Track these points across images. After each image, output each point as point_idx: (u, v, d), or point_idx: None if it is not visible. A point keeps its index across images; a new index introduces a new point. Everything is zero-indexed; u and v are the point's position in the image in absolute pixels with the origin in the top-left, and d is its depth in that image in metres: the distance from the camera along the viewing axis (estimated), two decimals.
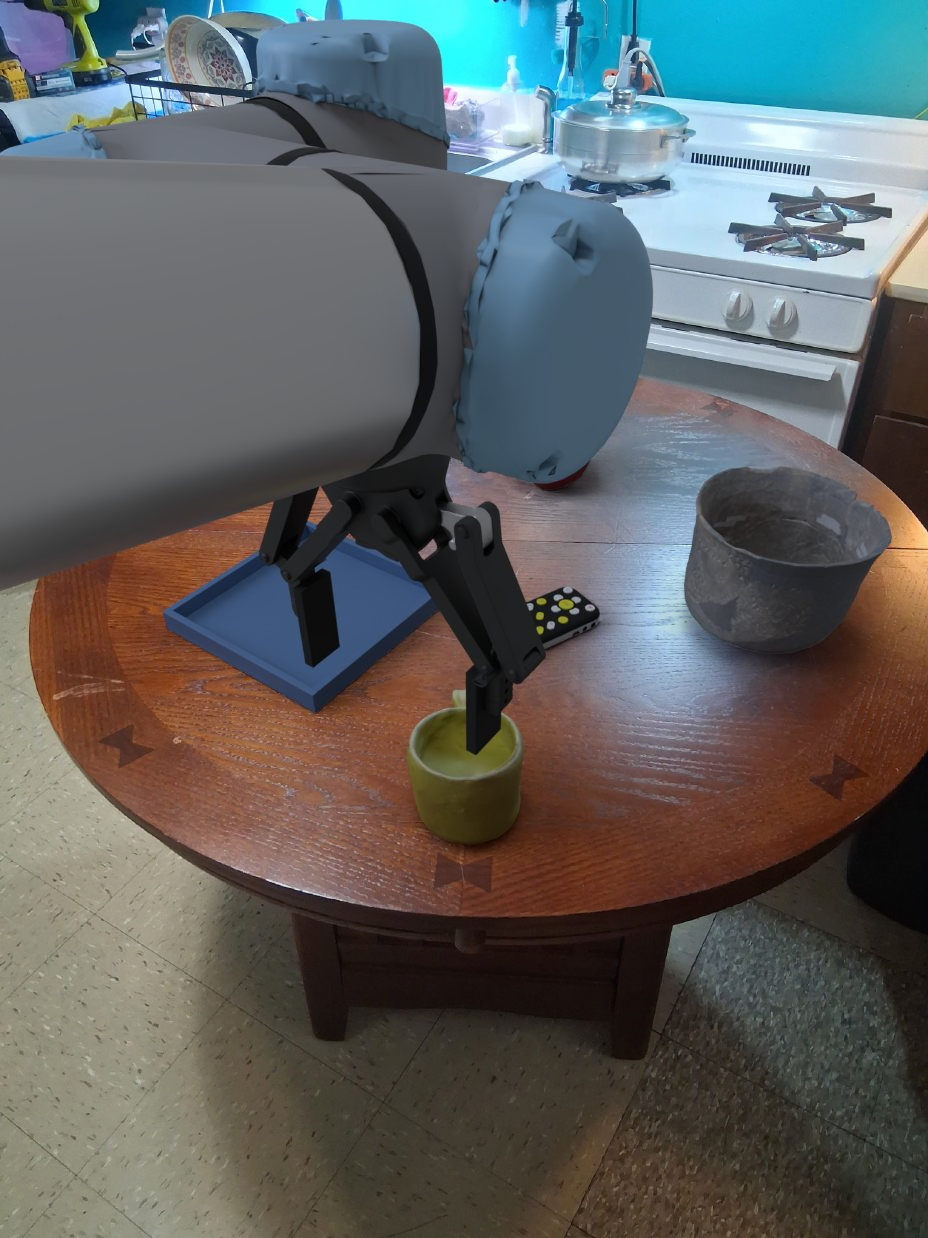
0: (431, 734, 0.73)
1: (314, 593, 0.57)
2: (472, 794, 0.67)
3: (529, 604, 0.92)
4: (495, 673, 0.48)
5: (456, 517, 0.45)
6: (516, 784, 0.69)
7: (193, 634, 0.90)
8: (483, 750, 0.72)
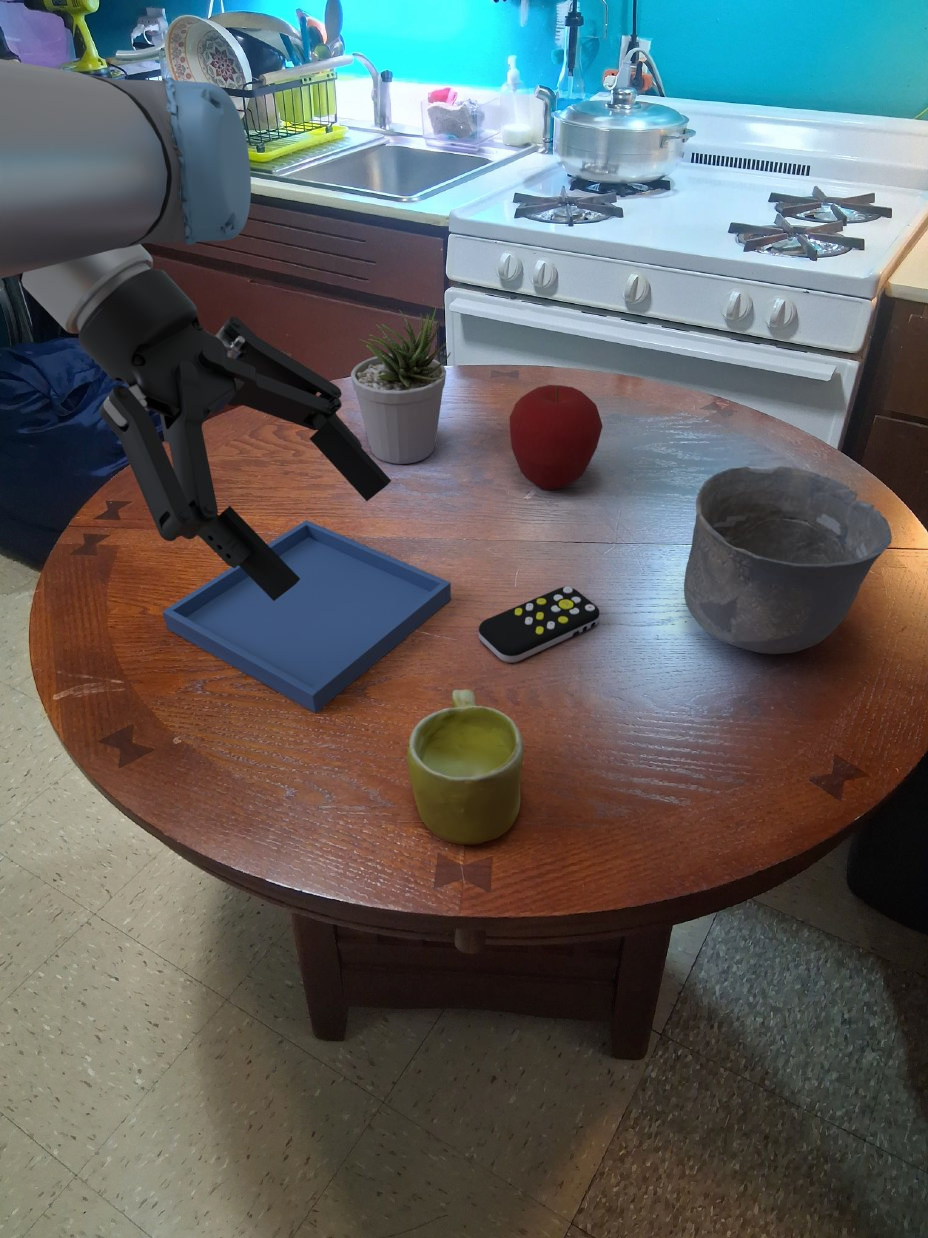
0: (431, 734, 0.73)
1: None
2: (472, 794, 0.67)
3: (529, 604, 0.92)
4: None
5: (222, 333, 0.63)
6: (516, 784, 0.69)
7: (193, 634, 0.90)
8: (483, 750, 0.72)
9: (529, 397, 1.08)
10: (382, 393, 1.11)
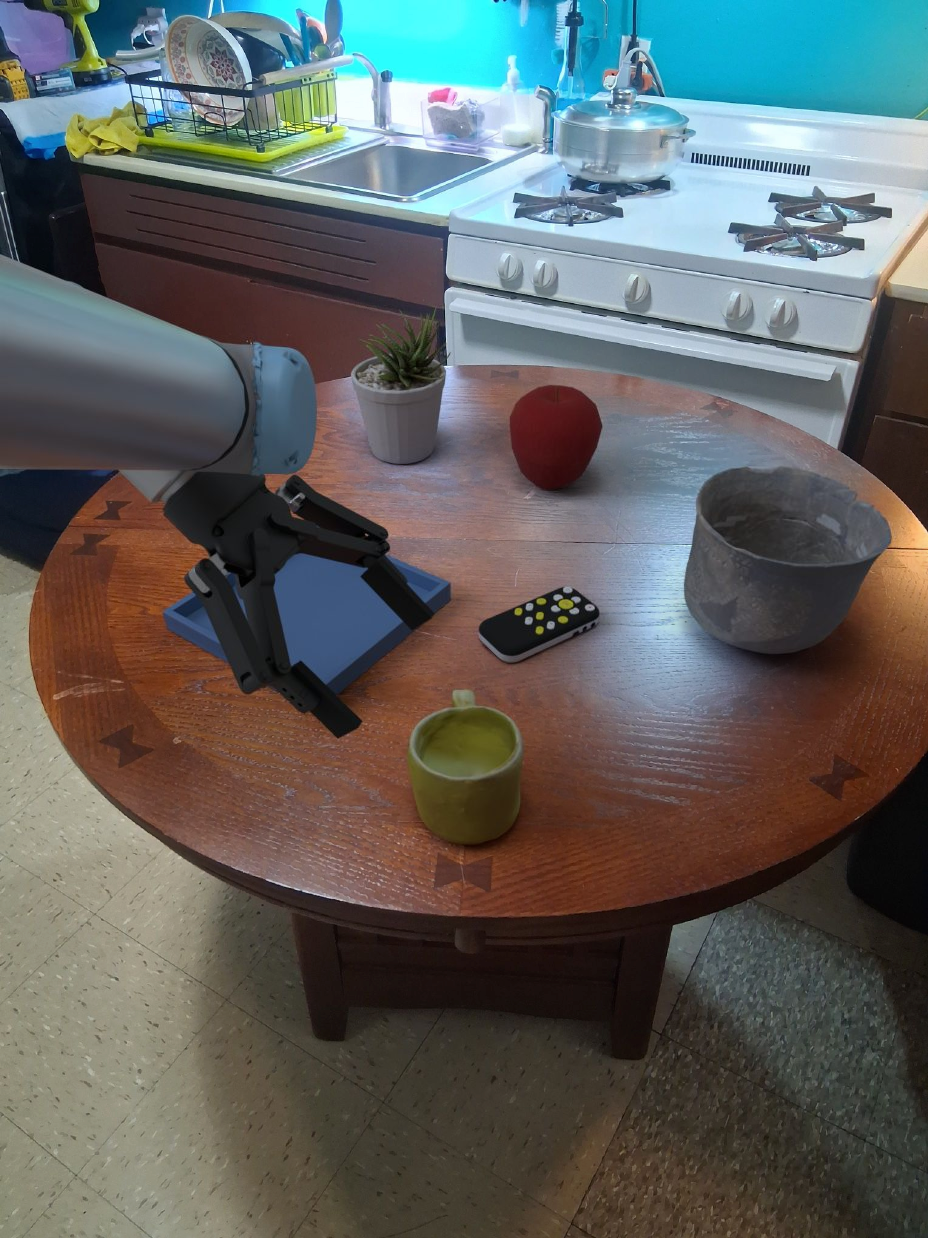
0: (431, 734, 0.73)
1: None
2: (472, 794, 0.67)
3: (529, 604, 0.92)
4: None
5: (284, 490, 0.70)
6: (516, 784, 0.69)
7: (193, 634, 0.90)
8: (483, 750, 0.72)
9: (529, 397, 1.08)
10: (382, 393, 1.11)
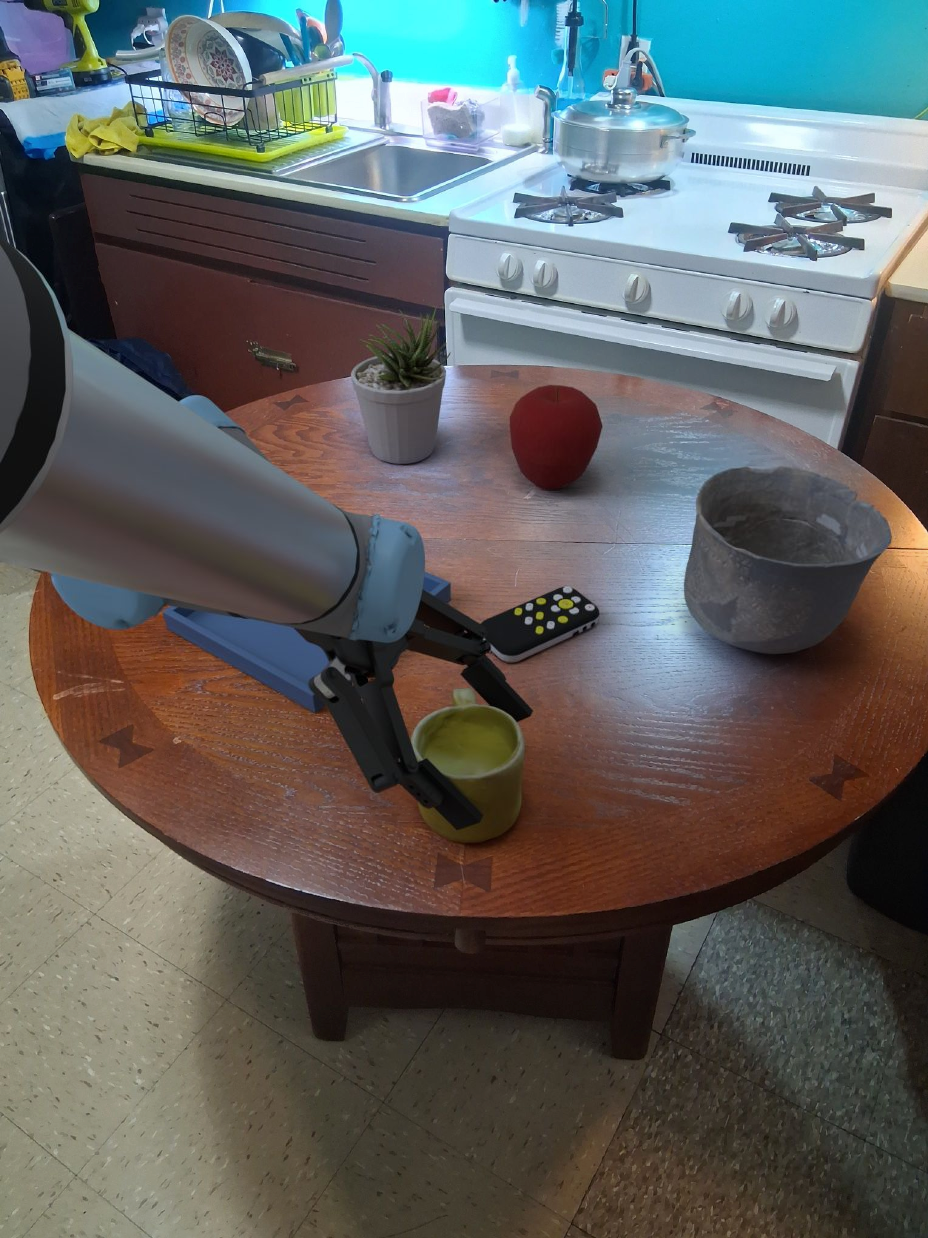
0: (432, 733, 0.73)
1: None
2: (474, 792, 0.67)
3: (529, 604, 0.92)
4: (481, 644, 0.75)
5: None
6: (518, 782, 0.69)
7: (193, 634, 0.90)
8: (484, 748, 0.72)
9: (529, 397, 1.08)
10: (382, 393, 1.11)
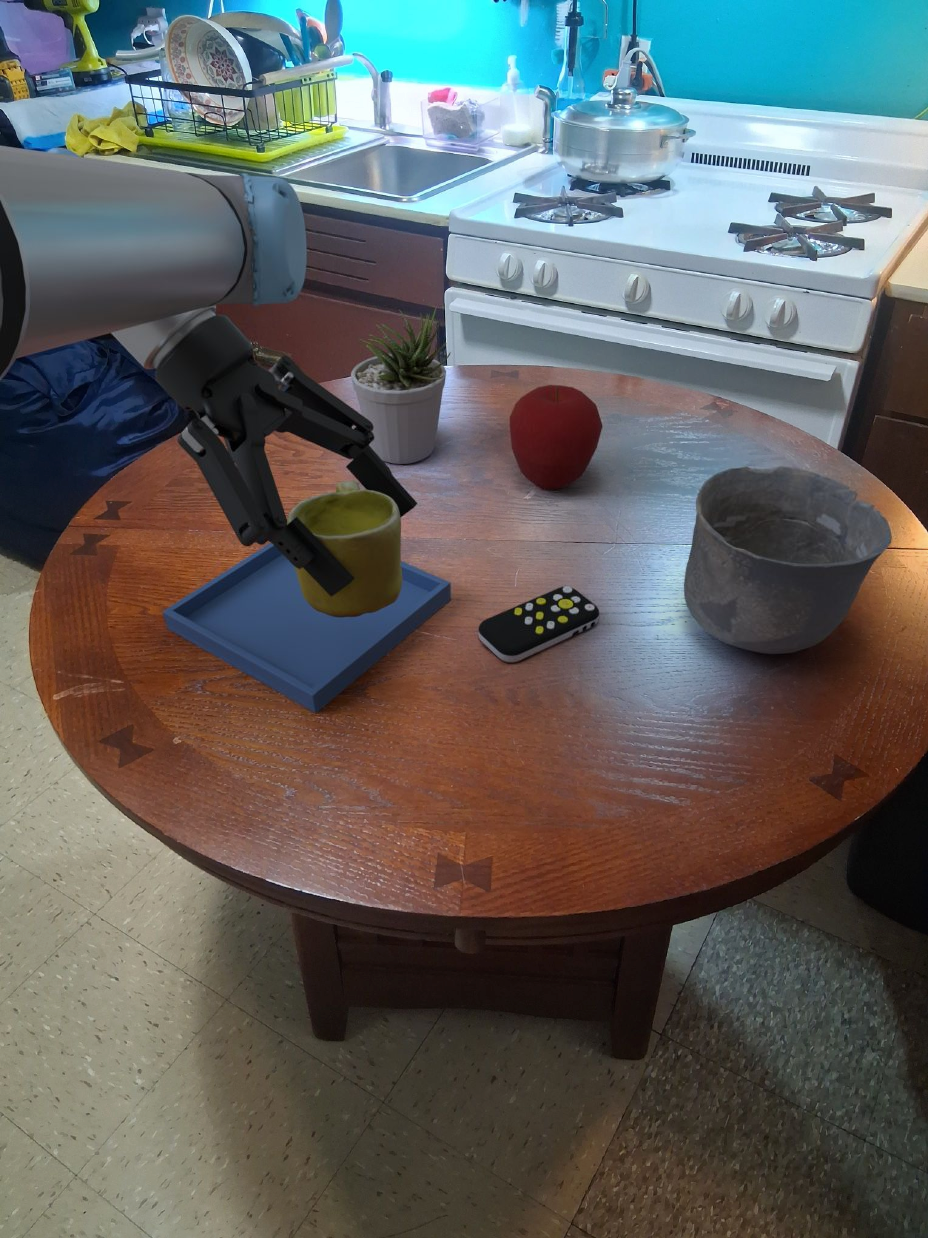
0: (314, 516, 0.74)
1: None
2: (346, 554, 0.68)
3: (529, 604, 0.92)
4: None
5: (274, 368, 0.73)
6: (392, 553, 0.71)
7: (193, 634, 0.90)
8: (364, 530, 0.74)
9: (529, 397, 1.08)
10: (382, 393, 1.11)
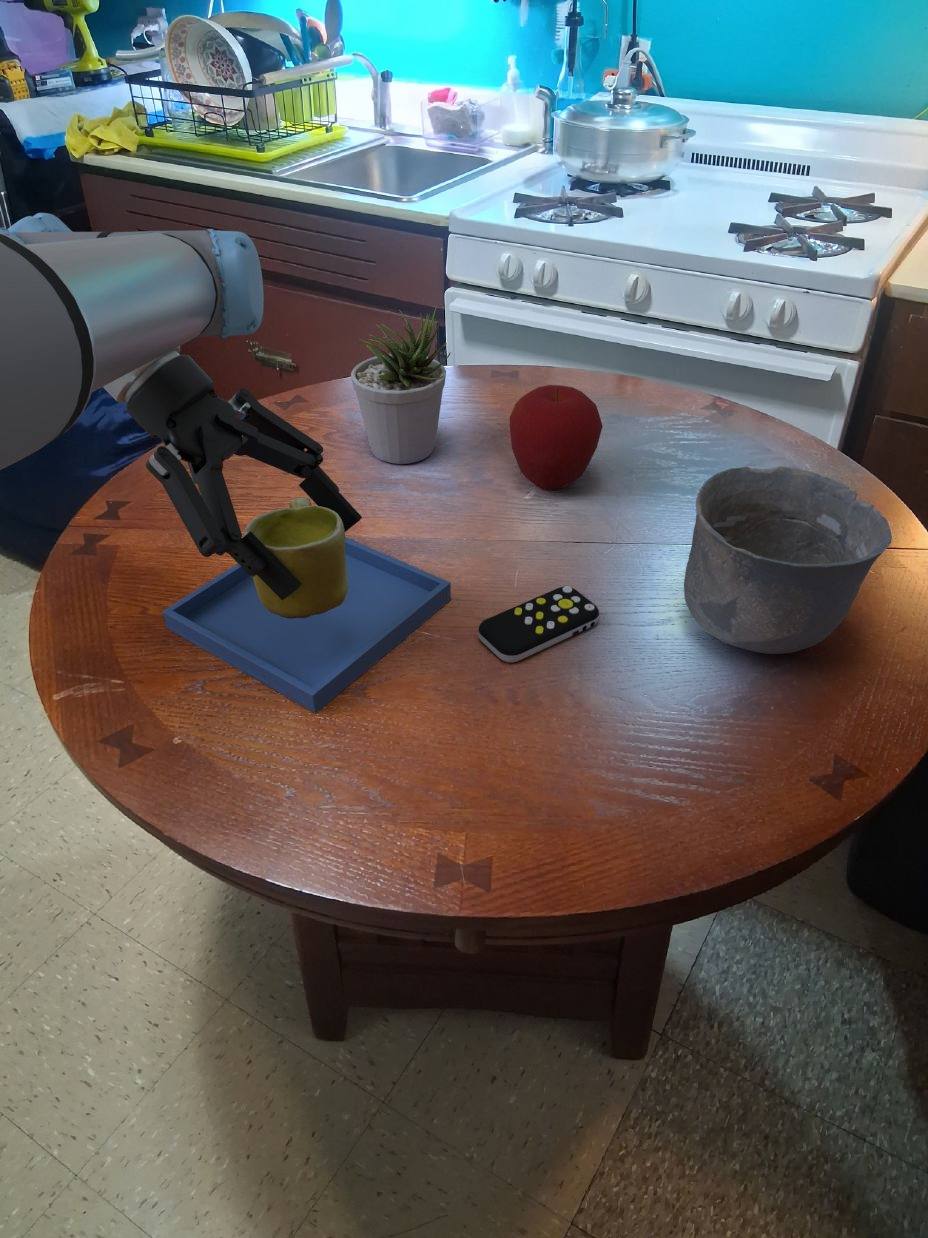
0: (269, 529, 0.84)
1: None
2: (294, 563, 0.78)
3: (529, 604, 0.92)
4: None
5: (233, 399, 0.83)
6: (337, 562, 0.81)
7: (193, 634, 0.90)
8: (313, 541, 0.84)
9: (529, 397, 1.08)
10: (382, 393, 1.11)
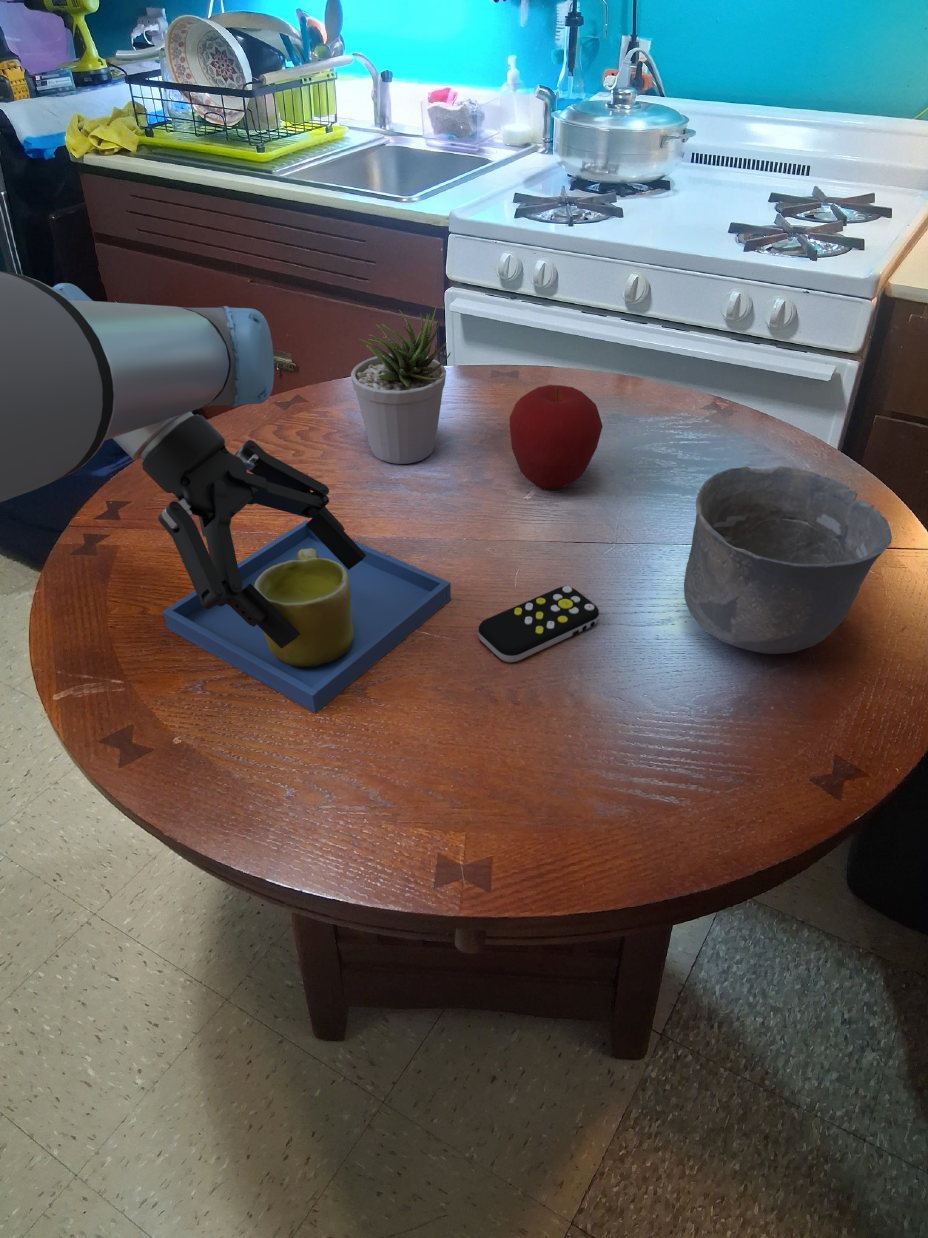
0: (278, 581, 0.88)
1: None
2: (302, 618, 0.82)
3: (528, 604, 0.92)
4: None
5: (241, 452, 0.87)
6: (343, 614, 0.85)
7: (193, 634, 0.90)
8: (320, 592, 0.88)
9: (529, 397, 1.08)
10: (382, 393, 1.11)
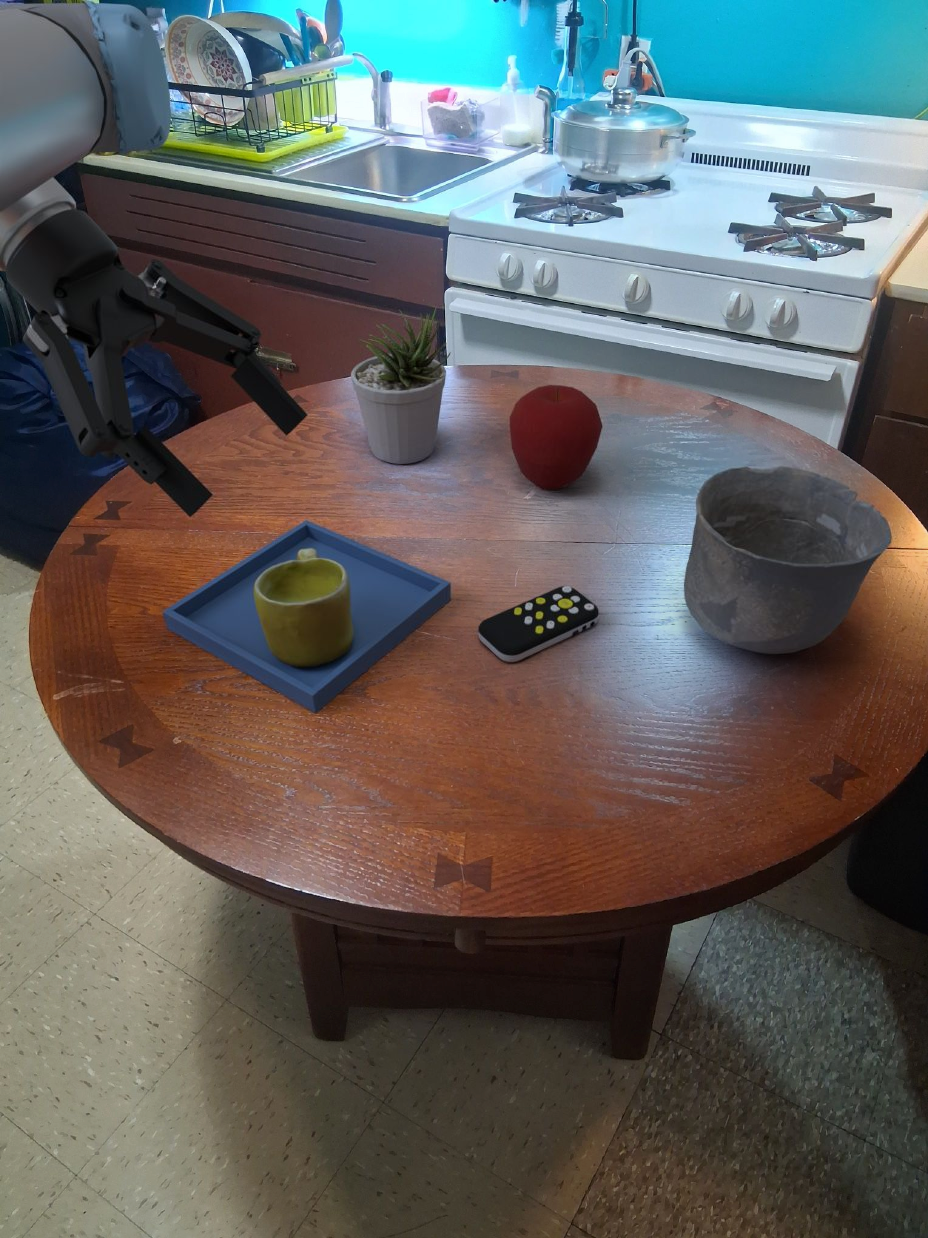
0: (278, 581, 0.88)
1: None
2: (302, 618, 0.82)
3: (528, 603, 0.93)
4: None
5: (144, 274, 0.68)
6: (342, 614, 0.85)
7: (193, 634, 0.90)
8: (320, 592, 0.88)
9: (529, 397, 1.08)
10: (382, 393, 1.11)
